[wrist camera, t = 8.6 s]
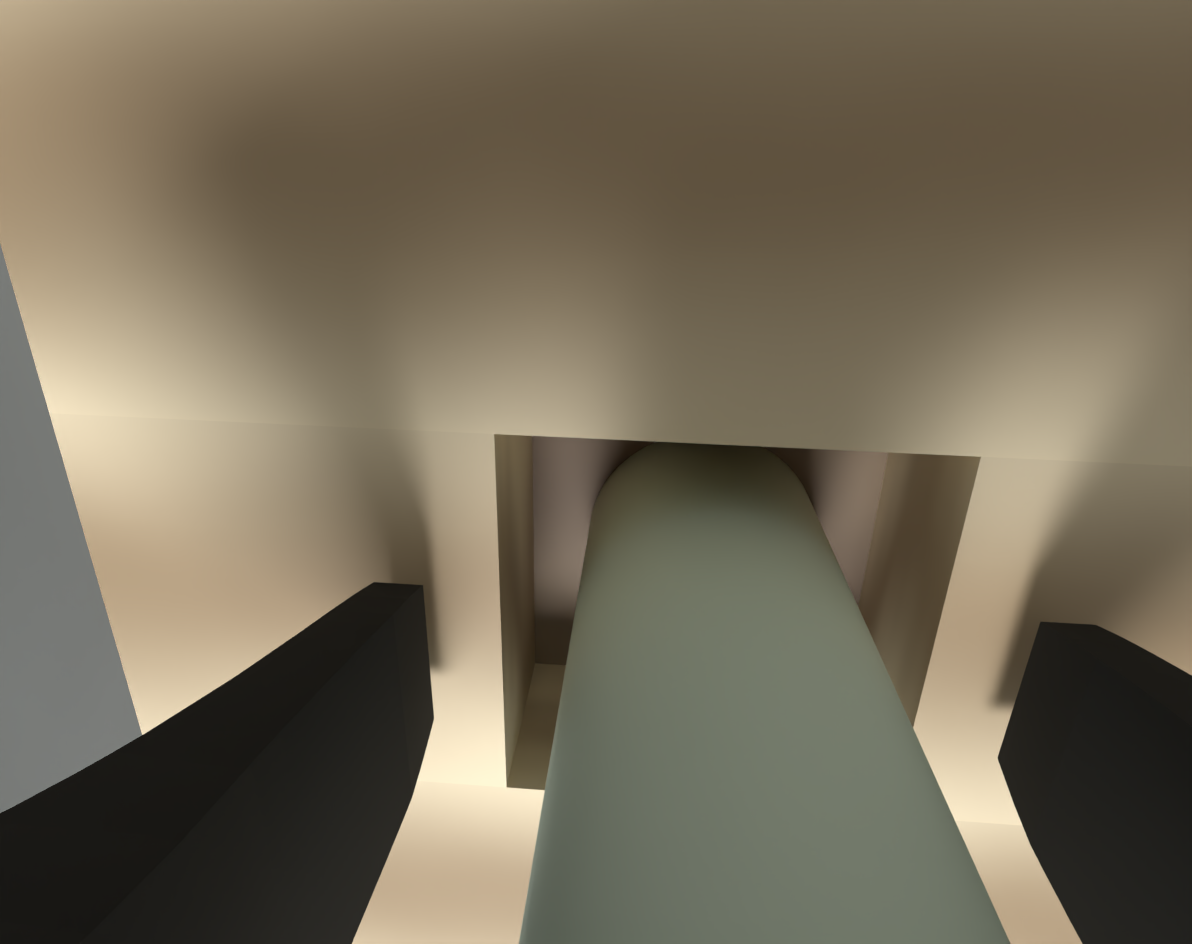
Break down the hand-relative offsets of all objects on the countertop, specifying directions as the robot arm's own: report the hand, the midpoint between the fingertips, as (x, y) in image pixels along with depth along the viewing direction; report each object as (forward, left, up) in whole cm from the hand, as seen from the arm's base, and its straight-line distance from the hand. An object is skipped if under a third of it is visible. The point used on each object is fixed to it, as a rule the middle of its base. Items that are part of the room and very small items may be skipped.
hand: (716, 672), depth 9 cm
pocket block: (0, 0, -3) cm, 3 cm away
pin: (0, 0, -3) cm, 3 cm away
